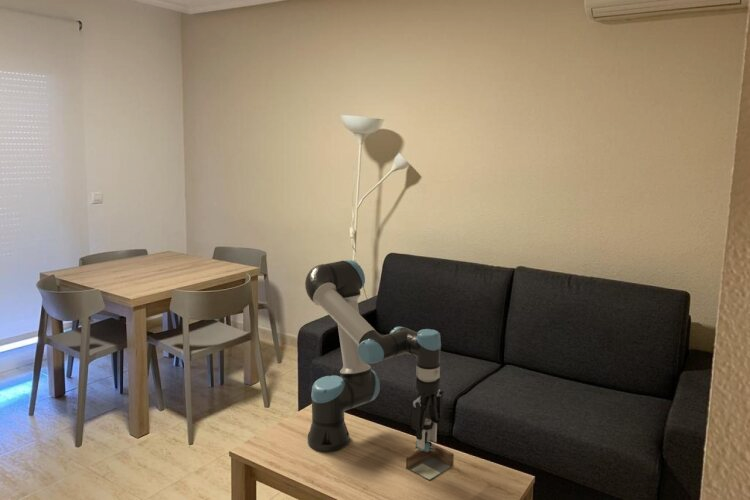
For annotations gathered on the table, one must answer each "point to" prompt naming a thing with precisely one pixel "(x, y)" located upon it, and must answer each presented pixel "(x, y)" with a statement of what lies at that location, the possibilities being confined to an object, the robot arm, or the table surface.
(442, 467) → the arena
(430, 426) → the push button
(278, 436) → the table surface
